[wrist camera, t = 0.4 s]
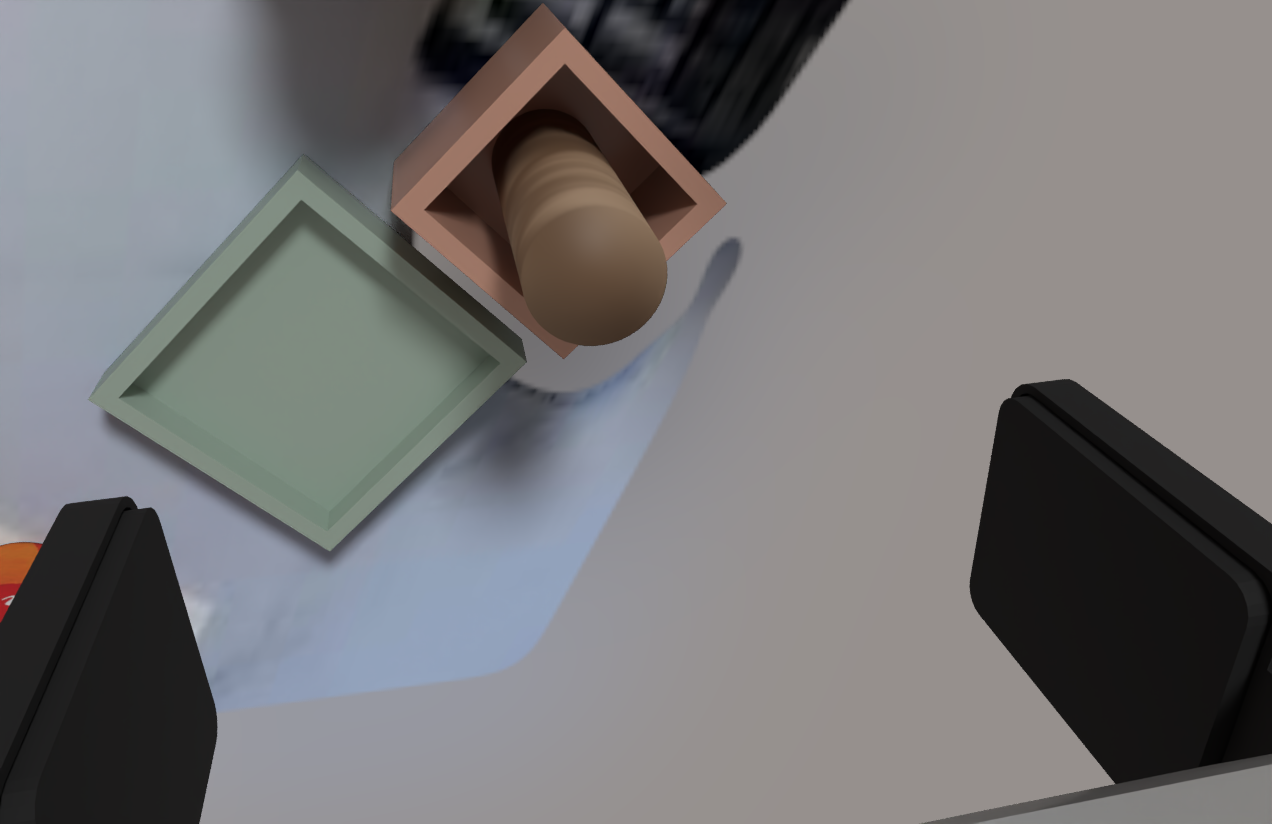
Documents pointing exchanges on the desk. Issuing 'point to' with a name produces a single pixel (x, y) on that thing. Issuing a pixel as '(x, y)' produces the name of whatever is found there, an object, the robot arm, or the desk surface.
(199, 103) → the desk surface
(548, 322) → the walnut peg
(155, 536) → the robot arm
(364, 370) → the sage tray
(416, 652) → the desk surface
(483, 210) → the terracotta box
